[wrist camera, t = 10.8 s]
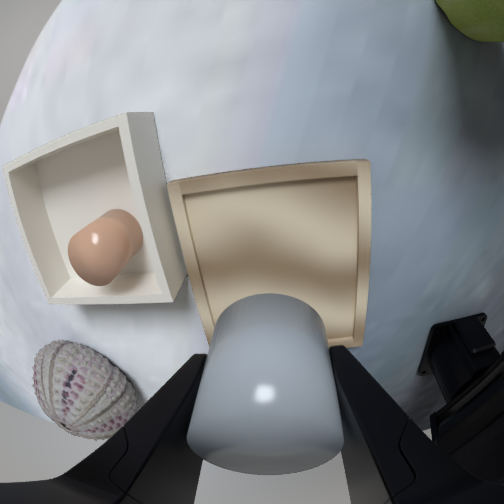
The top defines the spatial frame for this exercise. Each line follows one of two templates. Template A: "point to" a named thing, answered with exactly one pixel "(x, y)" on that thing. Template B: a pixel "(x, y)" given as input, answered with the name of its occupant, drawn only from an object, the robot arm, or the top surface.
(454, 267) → the top surface
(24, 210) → the square storage bin
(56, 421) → the sea urchin shell
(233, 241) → the parts tray
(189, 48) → the top surface
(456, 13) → the plant pot
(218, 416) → the slate pebble
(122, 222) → the peach rounded cylinder
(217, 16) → the top surface
